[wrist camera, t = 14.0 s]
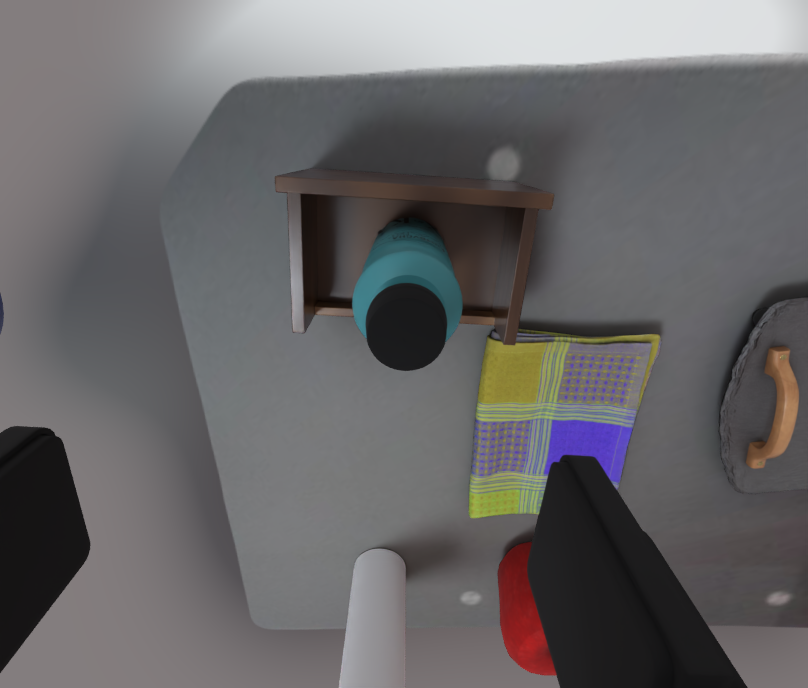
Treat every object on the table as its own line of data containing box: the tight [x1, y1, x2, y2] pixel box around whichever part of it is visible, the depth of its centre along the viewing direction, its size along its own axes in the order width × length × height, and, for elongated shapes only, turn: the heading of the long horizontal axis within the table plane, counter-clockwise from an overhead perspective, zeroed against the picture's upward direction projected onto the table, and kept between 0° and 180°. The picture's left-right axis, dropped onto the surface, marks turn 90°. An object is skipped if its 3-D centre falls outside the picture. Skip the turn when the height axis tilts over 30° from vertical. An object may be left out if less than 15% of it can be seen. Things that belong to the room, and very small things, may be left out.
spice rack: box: [275, 168, 554, 345], centre depth 37 cm, size 18×12×12 cm, turn 87°
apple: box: [498, 542, 556, 675], centre depth 52 cm, size 11×10×14 cm
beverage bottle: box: [352, 216, 463, 371], centre depth 30 cm, size 6×7×20 cm
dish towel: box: [469, 329, 662, 518], centre depth 49 cm, size 18×24×3 cm
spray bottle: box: [339, 549, 406, 688], centre depth 48 cm, size 7×7×25 cm
